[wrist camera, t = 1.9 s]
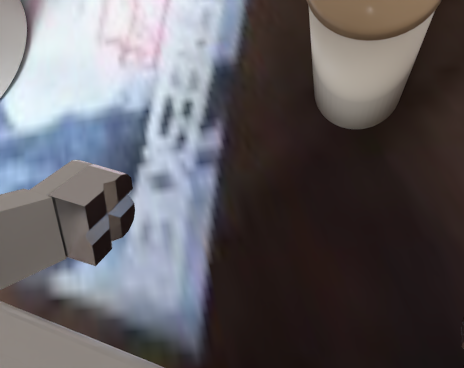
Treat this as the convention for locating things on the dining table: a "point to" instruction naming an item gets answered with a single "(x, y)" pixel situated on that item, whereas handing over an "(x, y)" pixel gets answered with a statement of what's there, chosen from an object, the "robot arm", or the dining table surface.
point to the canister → (364, 55)
